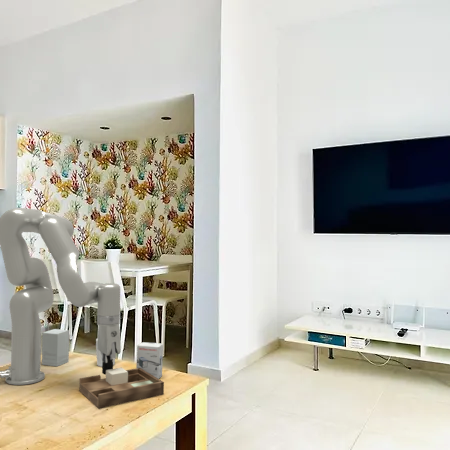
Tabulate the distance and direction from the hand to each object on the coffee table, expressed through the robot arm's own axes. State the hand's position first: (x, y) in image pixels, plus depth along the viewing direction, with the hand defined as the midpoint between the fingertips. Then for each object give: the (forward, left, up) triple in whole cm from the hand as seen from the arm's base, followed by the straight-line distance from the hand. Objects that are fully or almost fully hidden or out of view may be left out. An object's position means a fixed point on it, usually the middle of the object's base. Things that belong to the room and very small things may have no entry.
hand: (107, 373), depth 154 cm
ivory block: (+1, -6, -1) cm, 6 cm away
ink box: (+16, 0, -4) cm, 16 cm away
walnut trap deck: (+1, -10, -4) cm, 10 cm away
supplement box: (-8, +34, -4) cm, 35 cm away
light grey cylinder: (+8, +22, -4) cm, 24 cm away
